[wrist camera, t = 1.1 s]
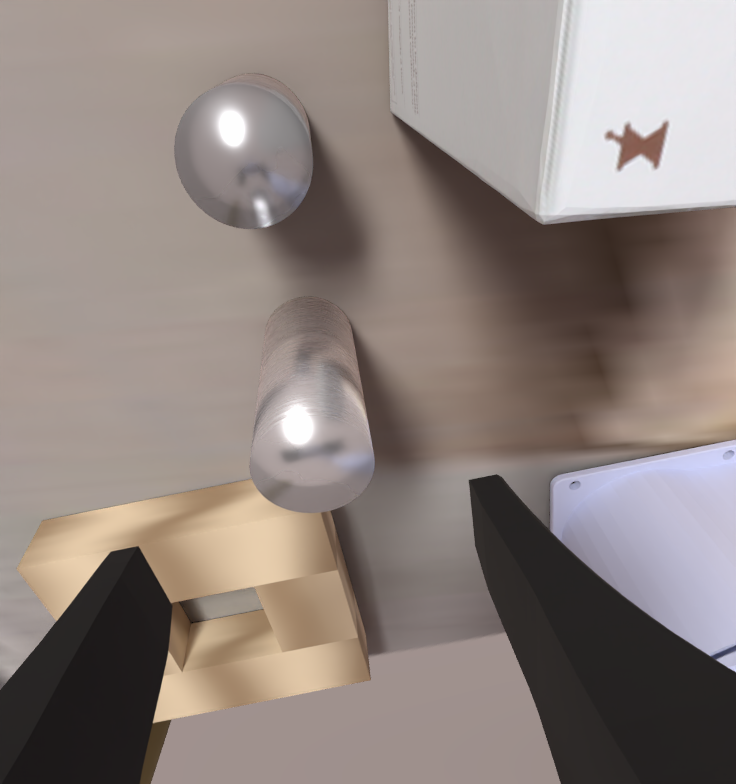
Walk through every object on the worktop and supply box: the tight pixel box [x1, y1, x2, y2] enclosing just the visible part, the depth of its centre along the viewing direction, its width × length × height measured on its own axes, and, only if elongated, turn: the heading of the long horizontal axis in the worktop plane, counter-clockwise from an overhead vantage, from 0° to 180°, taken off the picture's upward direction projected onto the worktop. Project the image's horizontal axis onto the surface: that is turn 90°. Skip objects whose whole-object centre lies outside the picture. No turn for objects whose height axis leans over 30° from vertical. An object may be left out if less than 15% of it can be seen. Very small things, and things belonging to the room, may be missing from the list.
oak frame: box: [17, 479, 371, 723], centre depth 26 cm, size 12×12×3 cm
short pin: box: [174, 73, 313, 229], centre depth 15 cm, size 3×3×4 cm
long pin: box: [250, 297, 375, 513], centre depth 18 cm, size 3×3×8 cm
